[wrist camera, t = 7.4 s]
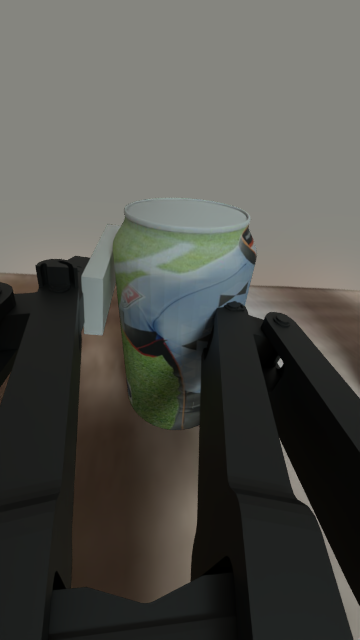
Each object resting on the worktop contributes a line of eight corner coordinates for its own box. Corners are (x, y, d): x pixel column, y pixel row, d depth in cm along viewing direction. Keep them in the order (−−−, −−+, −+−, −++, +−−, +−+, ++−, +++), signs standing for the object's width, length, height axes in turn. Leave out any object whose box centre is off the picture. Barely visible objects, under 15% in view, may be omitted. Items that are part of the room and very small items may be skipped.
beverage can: (216, 449, 14) (339, 262, 7) (91, 425, 14) (84, 201, 7) (213, 367, 19) (283, 209, 12) (121, 348, 19) (136, 172, 12)
